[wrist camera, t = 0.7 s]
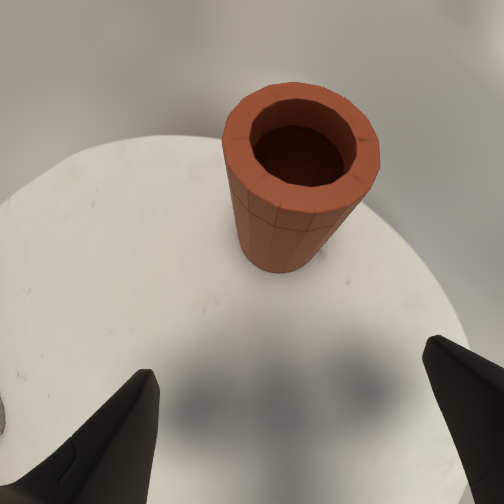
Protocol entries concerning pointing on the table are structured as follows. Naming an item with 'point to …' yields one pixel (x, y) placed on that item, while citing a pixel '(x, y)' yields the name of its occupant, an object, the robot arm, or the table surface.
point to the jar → (295, 170)
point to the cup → (1, 417)
